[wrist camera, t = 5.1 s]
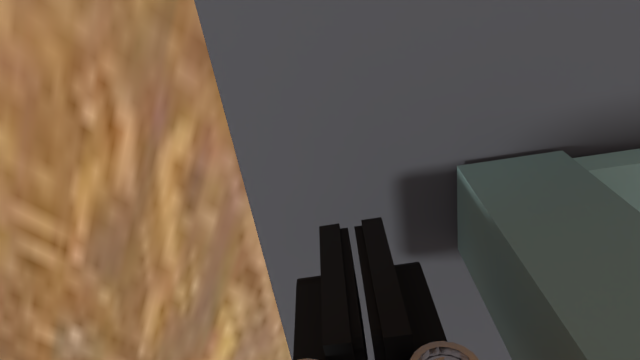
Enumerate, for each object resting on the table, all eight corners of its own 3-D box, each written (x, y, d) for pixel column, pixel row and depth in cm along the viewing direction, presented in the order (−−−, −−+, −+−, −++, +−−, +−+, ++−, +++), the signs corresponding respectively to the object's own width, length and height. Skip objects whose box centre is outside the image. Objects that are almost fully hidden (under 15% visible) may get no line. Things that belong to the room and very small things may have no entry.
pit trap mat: (751, 349, 17) (758, 356, 17) (305, 402, 18) (305, 409, 18) (1016, -254, 9) (1038, -259, 9) (171, -96, 10) (168, -97, 10)
